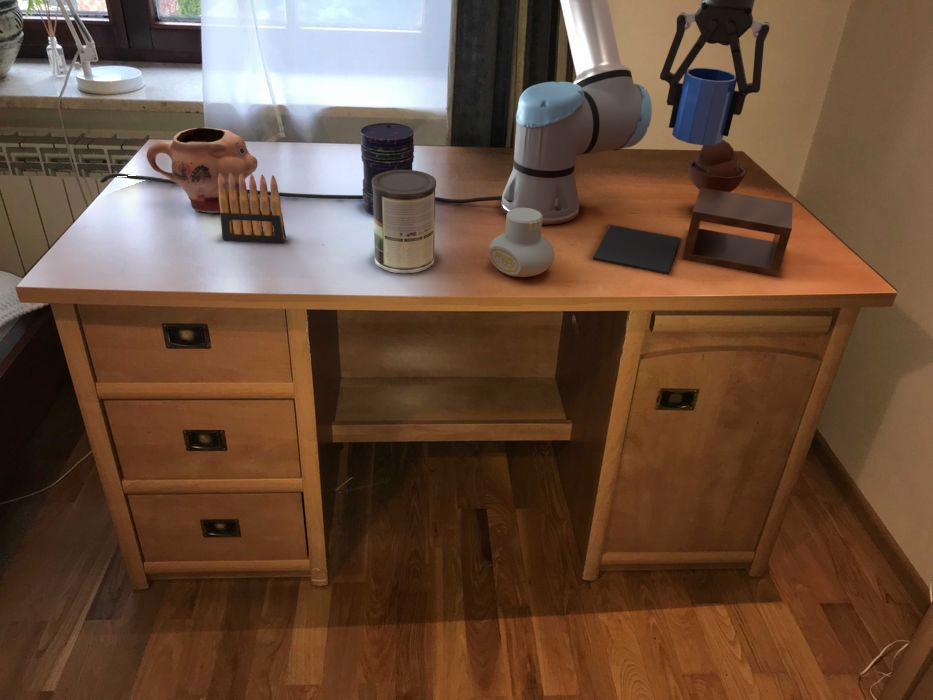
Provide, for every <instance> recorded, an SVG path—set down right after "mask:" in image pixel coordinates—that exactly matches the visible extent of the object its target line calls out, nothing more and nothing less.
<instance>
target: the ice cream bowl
mask: <svg viewBox="0 0 933 700" xmlns="http://www.w3.org/2000/svg"><path fill="white" fill-rule="evenodd" d="M747 173H748V170H747V169H746V168H745V167H744V166H743V165H742V164H740V163H738V157H737V154H736V152H735V149H734V148H733V147H732V145H731V143H729V142H728V141H727V140H725V139H722V142H721V143H719V144H716V145H702V147H701V149H700V150H699V151H698V153H697V154H696V156H695V158H693V159H692V160H690V162H688V164H687V175H688V178H689V180H690V181H691V182H692V184H693V185H694V186H695V187H696V188H697V190H700V188H707V189H713V190H719V191H725V192H731V193H732V192H733V191H734V190H736V189H737V188H738V187H739V185H740V184H741V183H742V182H743V180H744V179H745V177H746V174H747Z"/></svg>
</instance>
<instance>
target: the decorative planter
mask: <svg viewBox="0 0 933 700" xmlns="http://www.w3.org/2000/svg"><path fill="white" fill-rule="evenodd" d="M246 144H247V143H246V141H245V140H244V138H243V137H241V136H239V135H237V134H235V133H234V132H232V131H231V130H228V129H222V128H221V129H220V128H213V127H192V128H188V129H185V130H181V131H179V132H178V133H176V134H175V135H174V137H173V138H172V141H161V142H160V141H159V142H155V143H153V144H152V145H150V146H149V147H148V148H147V151H146V160H147V162H148V165H150V167H151V169H153V170H154V171H155V172H157V173H159V174H161V175H163V176H164V177H165V178H166V179H170V180H172V181H173V182H175V183H177V184H176V185H178V186H180V187H181V188H182V189H183V190H184V192H185V193H186V195H187V198H188V199H189V202H190V205H191V207H192V209H193V210H195V211H197V212H201V213H202V212H204V213H221V210H220V203H219V187H218V176H219V173H221V174H222V176H223V178H224V181H225V185H226V190H227V194H228V197H229V184H228V180H229V174H230V173H231V174H232V175H233V177H234V180H235V184H236V189H237V194H238V197H239V196H240V193H239V176H240V174H242V175H243V177H244V179H245V180H246V179H247V178H248V177H250V175H251V174H252V175H253V173H255V171H256V170H257V168H258V165H259V164H258V163H259V162H258V159H257V157H255V156H254V155H252V154H251V153H250V152H249V151H248V148H247V145H246ZM159 154H166V155H167V156H168V157H169V158H170V159H171V172H167V171H165V170H164V169H162V168H160V167H159V165H158V164H157V162H156V160H157V159H156V158H157V156H158V155H159ZM239 202H240V201H239ZM229 203H230V202H229Z"/></svg>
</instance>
